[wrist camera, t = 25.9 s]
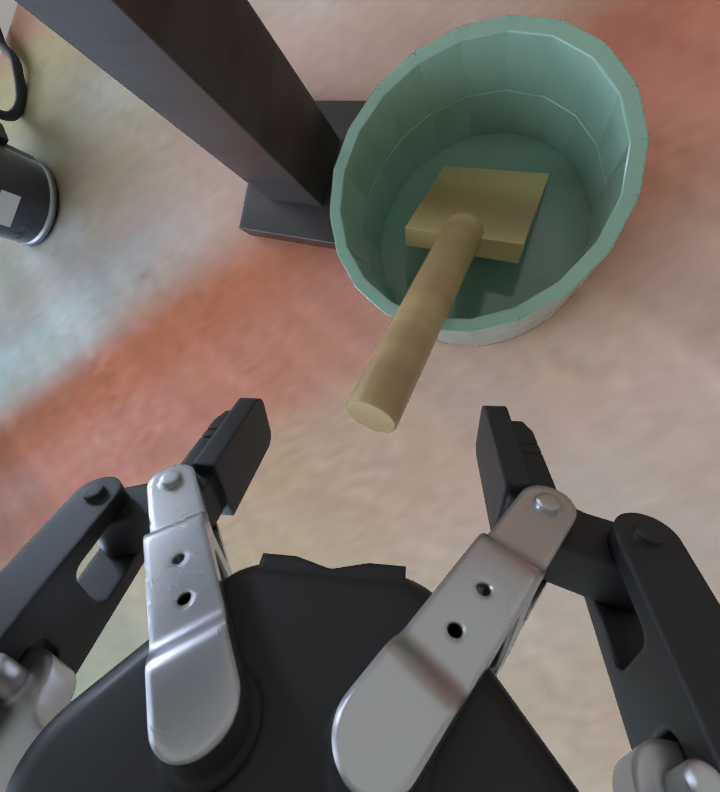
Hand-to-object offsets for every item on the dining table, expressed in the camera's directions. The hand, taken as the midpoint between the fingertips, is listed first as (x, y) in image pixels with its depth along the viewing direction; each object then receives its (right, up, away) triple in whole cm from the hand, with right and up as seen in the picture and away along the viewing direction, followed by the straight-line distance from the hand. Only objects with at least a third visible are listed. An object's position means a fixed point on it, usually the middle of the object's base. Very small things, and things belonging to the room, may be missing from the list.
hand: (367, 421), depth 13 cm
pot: (+8, +12, +12) cm, 18 cm away
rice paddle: (+4, +7, +6) cm, 10 cm away
